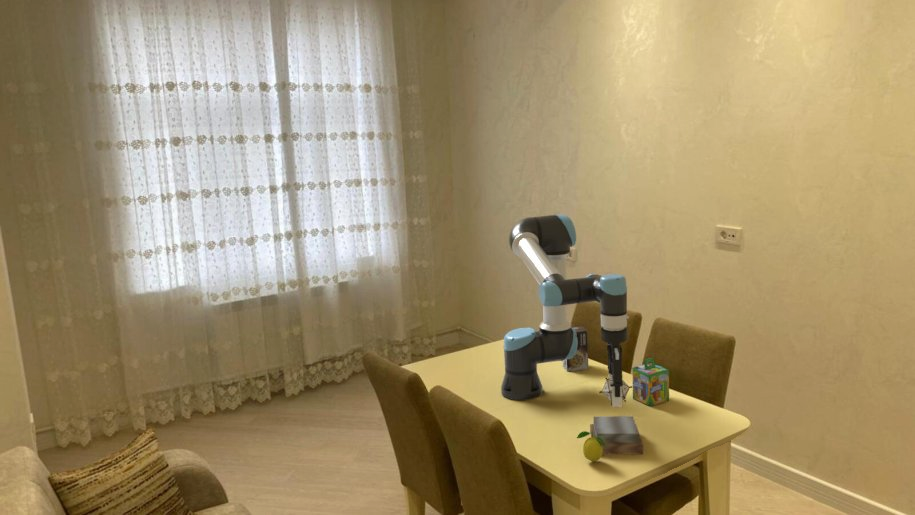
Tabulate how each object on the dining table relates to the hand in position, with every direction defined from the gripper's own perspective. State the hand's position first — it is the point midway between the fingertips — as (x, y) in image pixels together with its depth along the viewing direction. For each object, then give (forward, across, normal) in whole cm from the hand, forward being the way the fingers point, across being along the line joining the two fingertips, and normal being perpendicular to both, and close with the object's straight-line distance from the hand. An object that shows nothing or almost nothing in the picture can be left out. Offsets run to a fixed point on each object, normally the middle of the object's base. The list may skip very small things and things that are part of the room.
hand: (615, 400), depth 200 cm
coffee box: (+13, +66, +8) cm, 68 cm away
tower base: (+14, 0, 0) cm, 14 cm away
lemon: (+14, -11, +8) cm, 20 cm away
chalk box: (+14, +33, -16) cm, 39 cm away
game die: (+1, 0, 0) cm, 1 cm away
